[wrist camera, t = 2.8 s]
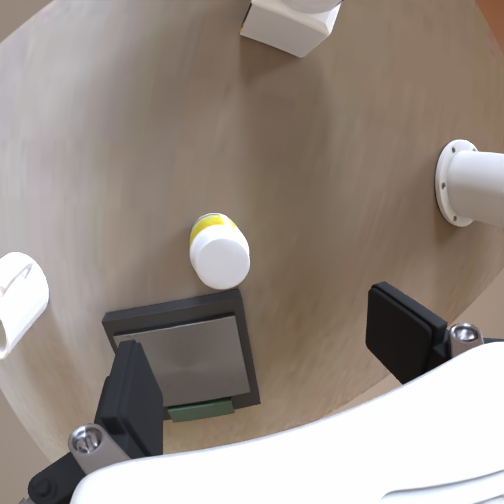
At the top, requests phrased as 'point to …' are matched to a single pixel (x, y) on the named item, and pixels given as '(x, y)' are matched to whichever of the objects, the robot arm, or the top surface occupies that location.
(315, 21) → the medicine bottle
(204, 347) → the scale pan
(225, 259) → the supplement bottle
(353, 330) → the top surface
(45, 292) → the mug
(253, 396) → the scale
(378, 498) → the robot arm
